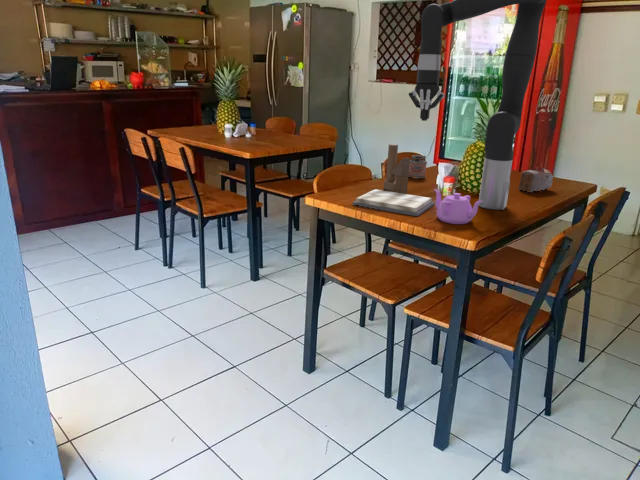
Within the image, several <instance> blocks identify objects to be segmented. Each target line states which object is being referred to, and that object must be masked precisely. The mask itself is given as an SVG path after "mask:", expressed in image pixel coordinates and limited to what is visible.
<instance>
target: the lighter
mask: <svg viewBox="0 0 640 480" xmlns="http://www.w3.org/2000/svg"><path fill="white" fill-rule="evenodd" d="M426 158H427V155H418V154H416V155H411V159H410V165H409V176H408V177H416V178H415V179H418V178H425V177H426V171H427V163H428V161H427V160H426ZM425 179H426V178H425Z"/></svg>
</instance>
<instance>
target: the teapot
mask: <svg viewBox="0 0 640 480" xmlns="http://www.w3.org/2000/svg"><path fill="white" fill-rule="evenodd" d="M433 190H434V192H435V193H436V198H435V208H436V217H437V218H438V219H439V221H441V222H444V223H447V224H451V225H465V224H468V223H470V222H471V221H472V220H473V218H474V217H475V216H476V215H477V213H478V209H479V207H480V206H479V204H480V203H481V202H483V201H479V200H477V201H475V202H474V205H473V207H472V204H471V202H470V201H471V196H470V195H468V194H467V195H464V196H463V195H462V193H458V192H455V193H453V194H452V195H450V194H449V195H446V196H445V197H444V198H443V200H442V195H441V192H440V190H438V189H437V188H434V189H433ZM461 195H462V196H461Z"/></svg>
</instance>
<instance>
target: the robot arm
mask: <svg viewBox="0 0 640 480" xmlns="http://www.w3.org/2000/svg"><path fill="white" fill-rule="evenodd" d="M547 1H548V0H452V1H449V2H445V3H442V4H437V3H431V4H428V5H427V6H426V7H424V9H423V11H422V13H421V20H420V22H421V23H420V24H421V25H420V28H421V29H420V32H421V33H420V34H421V36H420V37H421V38H420V39H421V40H420V46H419V47H420V49H419V56H418V62H417V74H416V85H415V87H414V89H413V90H412V91H411V92H409V93H408V96H409V98H410V99H411V101H412V103H413V104H414V106H415V107H416V108H418V109H419V110H420V115H419V116H420V117H419V118H420V120H421V121H422V122H425V121H428V120H429V118H430V114H431V113H430V112H431V110H432V109H435V108H436V107H437V106H438V104H440V102H441V101H442V100H443V99H444V98H445V96H446V95H445V93H443V92H442V91H440V86H439V83H440V75H441V65H442V64H441V63H442V62H441V61H442V60H441V58H442V57H441V54H442V46H443V45H442V42H443V41H442V40H443V39H442V29H443V27H445V26H448V25H451V24H453V23H456V22H460V21H461V22H462V21H465V20H469V19H472V18H476V17H479V16H483V15H485V14H488V13H490V12H493V11H496V10H498V9H502V8H505V7H509V6H513V5H517V14H516V19H515V24H514V27H513V29H512V32H511V35H510V38H509V41H508V45H507V48H506V51H505V55H504V61H503V66H502V75H501V77H502V78H501V80H502V93H501V99H500V104H499V106H498V109H497V112H496V113H494V114H493V115H491V116H490V118H489V119H488V122H487V126H486V132H485V139H484V140H485V141H484V160H483V161H484V162H483V169H482V177H481V181H480V188H479V189H480V191H479V196H478V197H479V198H478V201H483V202H481V203H480V204H479V206H478V207H481V208H483V209H488V210H501V211H502V210H504V209H506V207H507V204H508V198H509V197H508V196H509V191H510V187H511V186H510V185H511V180H510V178H511V173H512V167H513V166H512V164H513V159H514V150H513V149H514V148H513V147H514V138H515V135H516V134H517V133H518V132H519V129H520V127H521V121H522V113H523V106H524V100H525V95H526V93H527V90H528V87H529V83H530V78H531V76H532V72H533V68H534V64H535V59H536V57H537V56H536V55H537V52H538V51H537V50H538V43H539V33H540V23H541V18H542V15H543V12H544V9H545V6H546V3H547ZM435 97H436V98H435ZM418 98H419V99H418ZM434 98H435V100H434V101H433V99H434ZM432 101H433V102H432Z"/></svg>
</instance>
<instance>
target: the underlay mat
mask: <svg viewBox="0 0 640 480" xmlns="http://www.w3.org/2000/svg"><path fill="white" fill-rule="evenodd" d="M352 204H354V205H353V206H355V205H359V206H358V207H361V206H364V207H363V208H367V207H369V208H368V209H372V208H374V209H373V210H378V209H379V210H380V211H384V210H385V212H390V213H396V214H401V215H408V216H414V217H419V216H420V215H422V214H424V213H425V212H426V211H427V210H429V209H430V208H432V207H433V206H435V204H436V201H432V200H431V203H429V204H428V205H426V206H425V207H423V208H422V209H420V210H419V211H417V212H411V211H405V210H399V209H393V208H387V207H381V206H375V205H369V204H364V203H358V202H356V200H355V201H352ZM379 210H378V211H379Z"/></svg>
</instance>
